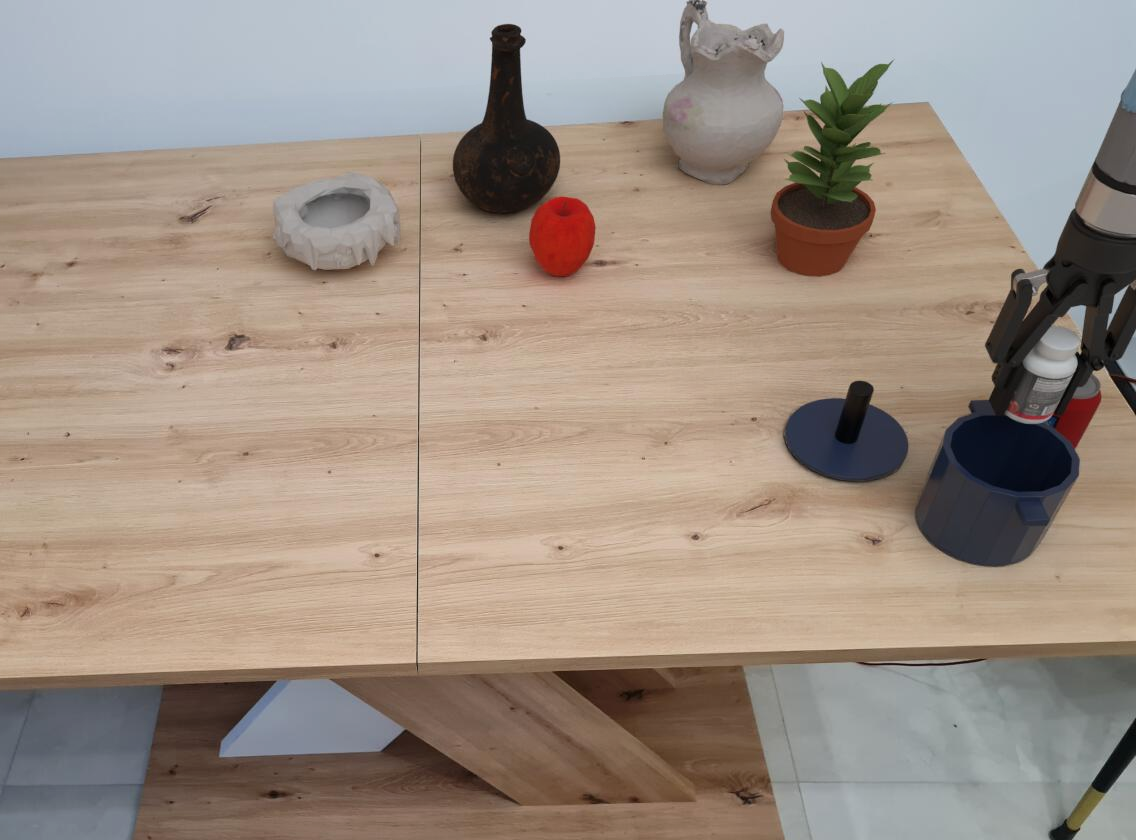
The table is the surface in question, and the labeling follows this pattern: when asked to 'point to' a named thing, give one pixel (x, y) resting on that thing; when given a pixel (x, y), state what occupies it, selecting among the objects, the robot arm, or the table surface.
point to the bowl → (336, 221)
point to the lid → (847, 436)
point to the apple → (562, 235)
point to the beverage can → (1078, 411)
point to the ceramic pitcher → (722, 97)
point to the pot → (995, 487)
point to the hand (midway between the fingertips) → (1025, 407)
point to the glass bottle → (506, 139)
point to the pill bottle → (1045, 376)
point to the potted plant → (829, 181)
